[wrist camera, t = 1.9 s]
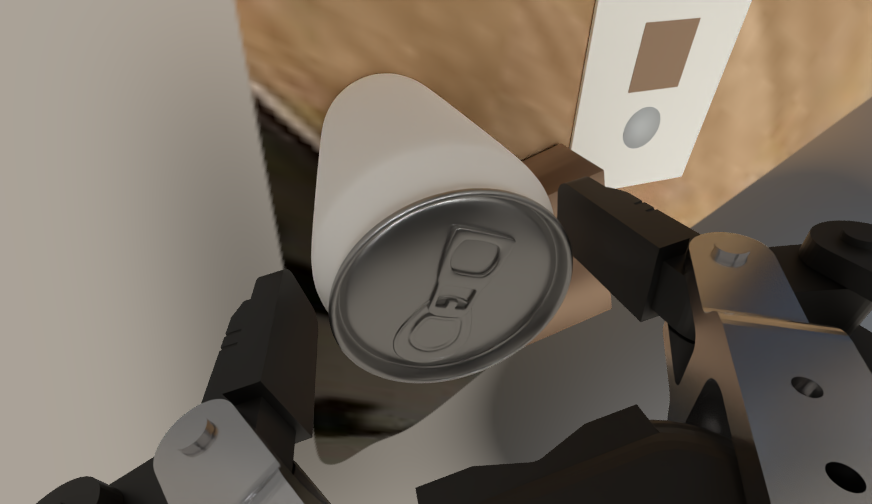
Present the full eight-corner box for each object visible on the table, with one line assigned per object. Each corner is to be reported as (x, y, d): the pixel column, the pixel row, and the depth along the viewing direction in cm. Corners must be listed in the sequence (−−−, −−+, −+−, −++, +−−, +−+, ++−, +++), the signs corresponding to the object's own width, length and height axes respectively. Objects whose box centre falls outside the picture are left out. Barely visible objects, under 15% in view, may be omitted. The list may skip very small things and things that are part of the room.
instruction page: (605, -54, 15) (609, -54, 14) (772, -61, 16) (777, -62, 16) (560, 196, 22) (562, 198, 21) (679, 175, 23) (682, 176, 23)
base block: (387, 223, 20) (396, 264, 17) (560, 143, 19) (603, 169, 16) (449, 329, 26) (463, 372, 23) (578, 272, 26) (611, 308, 23)
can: (310, 185, 17) (283, 394, 8) (337, 47, 14) (346, 114, 5) (425, 211, 20) (511, 393, 10) (469, 99, 17) (647, 211, 7)
